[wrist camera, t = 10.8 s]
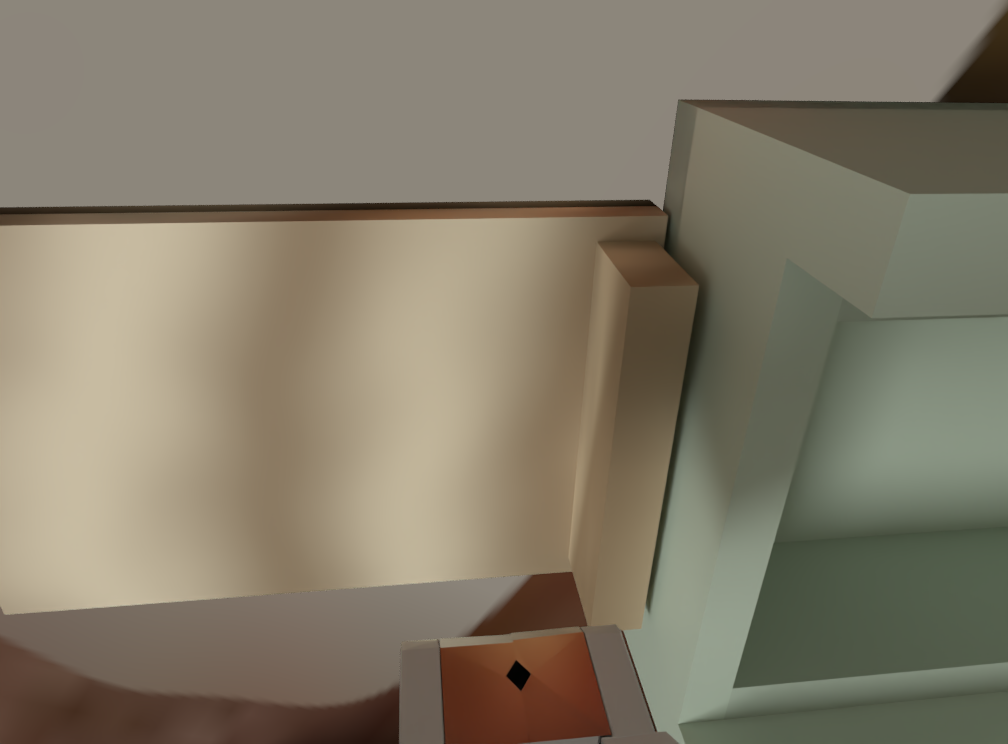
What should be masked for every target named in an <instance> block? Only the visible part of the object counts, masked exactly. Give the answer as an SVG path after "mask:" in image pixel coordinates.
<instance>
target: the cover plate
mask: <svg viewBox="0 0 1008 744" xmlns="http://www.w3.org/2000/svg"><path fill="white" fill-rule="evenodd" d="M667 221H668V215H667V214H666V213H664V212H663V211H662V210H661V209H660V208H659V207H657V206H656V205H655V204H654V203H653V202H652V201H650V200H575V201H497V202H496V201H495V202H493V201H491V202H408V203H327V204H325V203H323V204H239V205H156V206H155V205H154V206H80V207H79V206H73V207H71V206H70V207H0V606H1V608H2V610H3V613H4V615H9V614H22V613H35V612H48V611H61V610H74V609H87V608H100V607H114V606H127V605H139V604H153V603H165V602H179V601H191V600H205V599H218V598H230V597H245V596H257V595H271V594H283V593H296V592H310V591H323V590H336V589H349V588H362V587H375V586H388V585H401V584H414V583H428V582H440V581H454V580H467V579H478V578H479V579H480V578H493V577H505V576H519V575H533V574H546V573H559V572H573V575H574V579H575V582H576V586H577V589H578V593H579V596H580V600H581V603H582V607H583V610H584V614H585V617H586V621H587V624H588V626H600V625H612V624H616V625H617V627H618V628H619V629H620V630H633V629H641V627H642V621H643V615H644V610H645V604H646V598H647V592H648V586H649V580H650V574H651V568H652V562H653V556H654V550H655V544H656V538H657V533H658V527H659V521H660V515H661V509H662V503H663V497H664V491H665V485H666V479H667V473H668V467H669V462H670V456H671V450H672V444H673V438H674V432H675V426H676V420H677V414H678V408H679V402H680V396H681V390H682V385H683V379H684V373H685V367H686V361H687V355H688V349H689V343H690V337H691V331H692V325H693V319H694V313H695V308H696V302H697V296H698V290H699V285H698V284H697V283H696V282H695V281H694V279H693V278H692V277H691V276H690V275H689V274H688V273H687V272H686V271H685V270H684V269H683V268H682V267H681V266H680V265H679V264H678V263H677V262H676V261H675V260H674V259H673V258H672V257H671V256H670V255H669V254H668V253H667V252H666V251H665V250H664V242H665V235H666V228H667Z"/></svg>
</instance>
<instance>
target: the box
mask: <svg viewBox="0 0 1008 744" xmlns="http://www.w3.org/2000/svg"><path fill="white" fill-rule="evenodd" d="M663 212H664V213H666V214H667V215H668V221H667V228H666V235H665V242H664V250H665V251H666V252H667V253H668V254H669V255H670V256H671V257H672V258H673V259H674V260H675V261H676V262H677V263H678V264H679V265H680V266H681V267H682V268H683V269H684V270H685V271H686V272H687V273H688V274H689V275H690V276H691V277H692V278H693V279H694V281H695V282H696V283H697V284H698V285H699V290H698V296H697V302H696V308H695V313H694V319H693V325H692V331H691V337H690V343H689V349H688V355H687V361H686V367H685V373H684V379H683V385H682V390H681V396H680V402H679V408H678V414H677V420H676V426H675V432H674V438H673V444H672V450H671V456H670V462H669V467H668V473H667V479H666V485H665V491H664V497H663V503H662V509H661V515H660V521H659V527H658V533H657V538H656V544H655V550H654V556H653V562H652V568H651V574H650V580H649V586H648V592H647V598H646V604H645V610H644V615H643V621H642V627H641V629H633V630H623V631H624V634H625V637H626V640H627V643H628V646H629V649H630V652H631V654H632V657H633V660H634V663H635V666H636V669H637V672H638V675H639V678H640V681H641V684H642V687H643V690H644V693H645V696H646V699H647V702H648V705H649V708H650V711H651V714H652V717H653V720H654V723H655V726H656V729H657V732H664V731H666V732H667V733H668V734H670V735H671V736H672V737H673V738H674V739H675V740H676V741H677V742H678V743H679V744H1008V103H938V102H849V101H848V102H847V101H758V100H752V101H751V100H750V101H749V100H678V106H677V113H676V120H675V128H674V135H673V142H672V149H671V157H670V164H669V171H668V179H667V185H666V193H665V200H664V207H663Z"/></svg>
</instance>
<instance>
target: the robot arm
mask: <svg viewBox="0 0 1008 744" xmlns="http://www.w3.org/2000/svg"><path fill="white" fill-rule="evenodd" d="M439 642H440V651H439ZM399 744H679V743H678V742H677V741H676V740H675V739H674V738H673V737H672V736H671V735H670V734H668V733H667V732H666V731H664V732H655V730H654V727H653V724H652V721H651V718H650V715H649V712H648V709H647V707H646V704H645V701H644V698H643V695H642V692H641V689H640V686H639V683H638V680H637V677H636V674H635V671H634V668H633V665H632V662H631V659H630V656H629V653H628V651H627V648H626V645H625V642H624V639H623V636H622V633H621V630H620V629H619V628H618V627H617V625H616V624H612V625H600V626H588V627H580V628H579V627H569V628H558V629H548V630H538V631H528V632H518V633H510V634H509V635H495V636H477V637H460V638H444V639H443V638H442V639H440V641H438V639H430V640H416V641H403V642H402V644H401V650H400V704H399Z"/></svg>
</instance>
